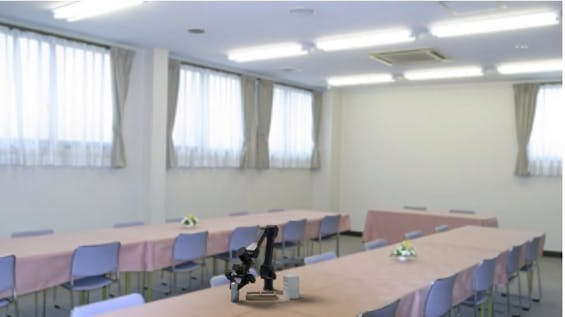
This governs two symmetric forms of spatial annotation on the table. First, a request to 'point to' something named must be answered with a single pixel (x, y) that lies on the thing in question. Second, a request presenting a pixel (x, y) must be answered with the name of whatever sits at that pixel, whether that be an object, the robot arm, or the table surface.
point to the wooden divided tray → (260, 295)
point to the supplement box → (291, 286)
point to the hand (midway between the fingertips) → (233, 289)
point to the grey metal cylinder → (235, 292)
